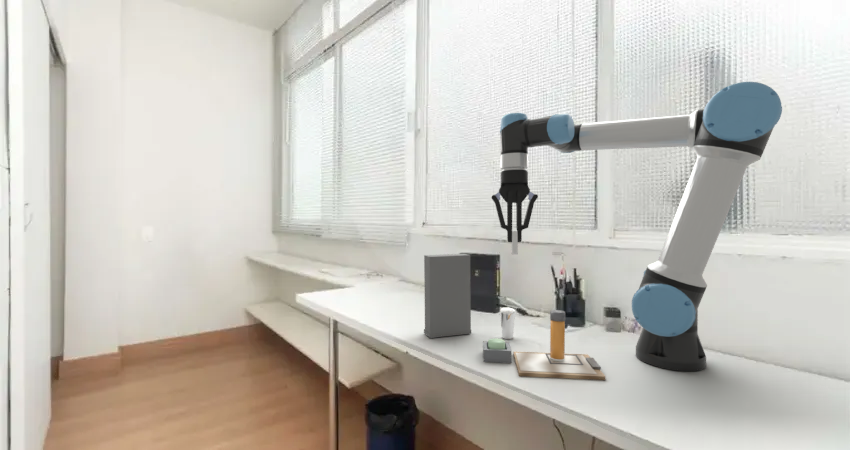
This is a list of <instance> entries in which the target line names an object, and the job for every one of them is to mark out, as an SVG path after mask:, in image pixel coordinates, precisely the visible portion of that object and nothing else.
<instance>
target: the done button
mask: <svg viewBox="0 0 850 450" xmlns="http://www.w3.org/2000/svg"><path fill="white" fill-rule="evenodd" d="M505 340H506V339H503V338H502V339H501V338H496V337H495V338H489V339H488V340H487V341H488V349H505V342H506V341H505Z"/></svg>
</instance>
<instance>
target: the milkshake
mask: <svg viewBox="0 0 850 450" xmlns="http://www.w3.org/2000/svg"><path fill="white" fill-rule="evenodd" d="M518 306H519V305H517V306H516V308H515V309H514V308H511V307H509V306H508V307H502V308H500V310H499V315H500V316H499V317H500V326H501V327H500V328H501V338H502V339H503V340H512V339H514V332H515V320H516V319H515V317H516V311H517V308H518Z"/></svg>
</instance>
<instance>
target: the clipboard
mask: <svg viewBox="0 0 850 450" xmlns="http://www.w3.org/2000/svg"><path fill="white" fill-rule="evenodd" d="M513 359H514V363H515V367H516V370H517V375H518V376H519V377H530V378H531V377H533V378H551V379H553V378H554V379H577V380H596V381H606V375H605V374H604V373H603V372H602V370H601V369H602V368H601V365H599V363H598V362H597V361H596V359H595V358H594V357H590V356H589V354H587V353H583V354H582V353H565V361H563V362H556V361H552V360H551V359H550V352H537V351H535V352H533V351H531V352H530V351H513Z"/></svg>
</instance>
